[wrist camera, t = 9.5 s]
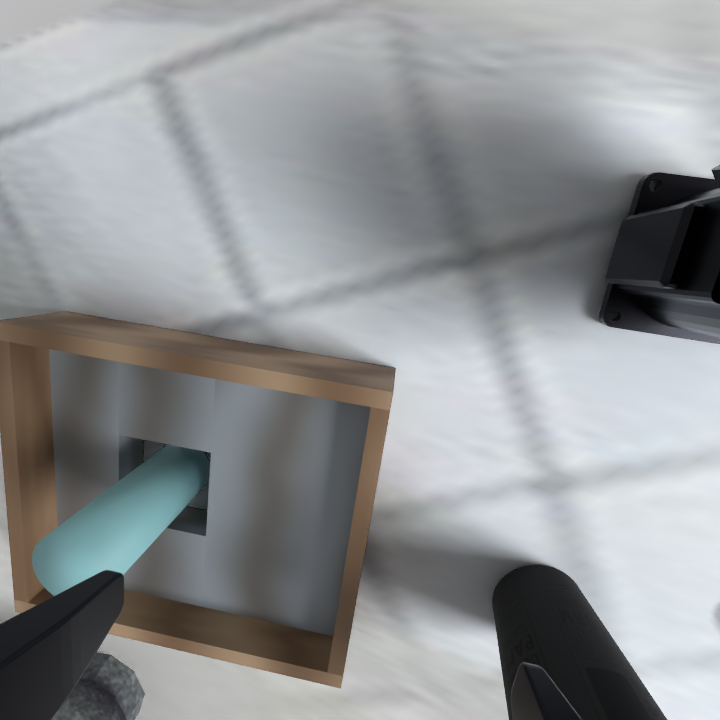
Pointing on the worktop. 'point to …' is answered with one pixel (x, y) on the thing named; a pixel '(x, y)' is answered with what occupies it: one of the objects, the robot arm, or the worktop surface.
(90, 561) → the peg
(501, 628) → the drinking cup
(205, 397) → the insert box
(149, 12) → the worktop surface
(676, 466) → the worktop surface
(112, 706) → the mortar and pestle
